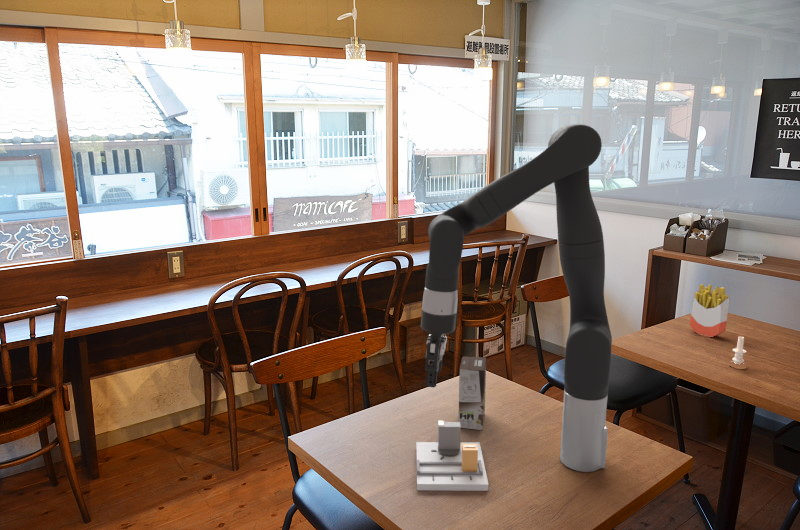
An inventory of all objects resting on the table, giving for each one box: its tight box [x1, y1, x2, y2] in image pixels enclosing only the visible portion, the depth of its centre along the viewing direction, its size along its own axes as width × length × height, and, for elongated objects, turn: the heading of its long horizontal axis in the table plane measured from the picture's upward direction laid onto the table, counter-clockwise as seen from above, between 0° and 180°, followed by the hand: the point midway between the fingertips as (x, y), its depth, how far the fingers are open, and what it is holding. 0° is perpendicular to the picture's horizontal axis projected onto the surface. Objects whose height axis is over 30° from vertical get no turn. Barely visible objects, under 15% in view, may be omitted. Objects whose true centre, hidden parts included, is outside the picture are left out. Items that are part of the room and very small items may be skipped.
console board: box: [415, 441, 489, 492], centre depth 135 cm, size 15×17×2 cm
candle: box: [732, 335, 747, 365], centre depth 188 cm, size 5×5×10 cm
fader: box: [462, 444, 478, 472], centre depth 131 cm, size 3×3×5 cm
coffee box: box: [457, 356, 487, 431], centre depth 154 cm, size 9×6×16 cm
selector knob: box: [437, 419, 462, 456], centre depth 138 cm, size 5×5×7 cm
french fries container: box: [689, 284, 730, 338], centre depth 215 cm, size 5×11×18 cm, turn 33°
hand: (433, 378), depth 133 cm, fingers open, 8 cm apart
